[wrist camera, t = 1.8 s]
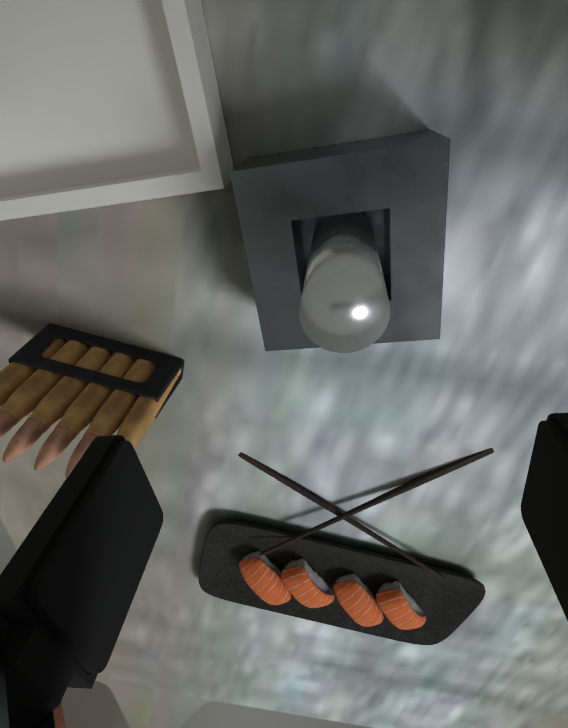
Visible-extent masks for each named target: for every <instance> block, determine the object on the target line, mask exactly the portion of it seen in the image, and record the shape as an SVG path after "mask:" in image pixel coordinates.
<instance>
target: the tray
mask: <svg viewBox="0 0 568 728" xmlns="http://www.w3.org/2000/svg"><path fill="white" fill-rule="evenodd" d="M233 169H234V167H233V162H232V157H231V152H230V147H229V142H228V136H227V131H226V126H225V121H224V116H223V111H222V106H221V100H220V95H219V90H218V85H217V80H216V75H215V70H214V65H213V59H212V54H211V49H210V44H209V39H208V34H207V29H206V23H205V18H204V13H203V8H202V3H201V0H0V221H1V220H8V219H15V218H22V217H29V216H36V215H43V214H50V213H57V212H64V211H71V210H78V209H85V208H92V207H99V206H106V205H113V204H120V203H127V202H134V201H141V200H148V199H155V198H162V197H169V196H176V195H183V194H190V193H197V192H204V191H211V190H218V189H224V188H225V187H226V186H228V185H229V184H230V183H231V177H230V171H231V170H233Z"/></svg>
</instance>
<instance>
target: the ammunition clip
mask: <svg viewBox="0 0 568 728" xmlns="http://www.w3.org/2000/svg"><path fill="white" fill-rule="evenodd" d="M9 363H10V364H9V365H8V366H7V367H5V368H4V369H3V370H2V371H1V372H0V407H1V406H2V407H1V408H0V438H1V437H2V436H4V435H5V434H6V433H7V432H8V431H9V430H10V429H11V428H12V427H13V426H14V425H16V424H17V423H18V422H19V421H20V420H21V419H22V418H23V417H25V416H27V415H28V414H30V413H31V412H33V411H34V412H33V413H32V414H31V415H30V417H29V418H28V419H27V420H26V422H25V423H24V424H23V425H22V426H21V427H20V428H19V430H18V431H17V432H16V434H15V435H14V436H13V438H12V439H11V441H10V442H9V444H8V446H7V448H6V450H5V452H4V455H3V461H4V462H7V461H10V460H12V459H14V458H16V457H17V456H19V455H20V454H22V453H23V452H24V451H26V450H27V449H28V448H29V447H30V446H31V445H33V444H34V443H35V442H36V441H37V440H38V439H39V437H40V436H41V435H42V434H43V433H45V432H46V431H47V430H48V429H49V427H50V426H51V425H53V424H54V423H55V422H57V421H58V420H59V419H61V417H62V416H63V417H62V419H61V421H60V422H59V423H58V425H57V426H56V427H55V429H54V431H53V432H52V433H51V434H50V436H49V437H48V438H47V440H46V441H45V443H44V444H43V446H42V447H41V449H40V451H39V453H38V456H37V458H36V461H35V465H34V469H35V470H39V469H41V468H43V467H45V466H46V465H48V464H49V463H50V462H52V461H53V460H54V459H55V458H56V457H58V456H59V455H60V454H61V453H62V452H63V451H64V449H65V448H66V447H67V446H68V445H69V444H70V442H71V441H72V440H73V439H74V438H75V437H76V436H77V435H78V434H79V432H80V431H82V430H83V429H84V428H85V427H86V426H87V425H88V424H89V423H90V422H91V424H90V426H89V428H88V430H87V431H86V433H85V434H84V436H83V438H82V439H81V441H80V442H79V443H78V445H77V447H76V448H75V450H74V452H73V454H72V456H71V458H70V460H69V463H68V466H67V469H66V478H67V477H68V476H69V474H70V473H71V472H72V470H73V469H74V467H75V466H76V464H77V463H78V461H79V460H80V458H81V457H82V456H83V454H84V453H85V451H86V450H87V448H88V447H89V445H90V444H91V442H92V441H93V440H94V439H95V438H96V437H98V436H110V435H112V434H113V433H114V432H115V431H116V430H117V429H118V428H119V430H118V433H117V435H122V436H123V437H124V438H125V439H126V441H130V442H131V444H132V445H133V447H134V448H135V446H136V445H137V444H138V442H139V441H140V440H141V439H142V438H143V437H144V435H145V434H146V432H147V430H148V429H149V427H150V425H151V423H152V422H153V420H154V418H157V416H158V415H159V413H160V412H161V410H162V408H163V407H164V405H165V404H166V402H167V401H168V399H169V398H170V396H171V395H172V393H173V392H174V390H175V389H176V387H177V386H178V384H179V383H180V381H181V379H182V376H183V369H184V360H183V359H181V358H177V357H173V356H170V355H166V354H162V353H159V352H155V351H151V350H148V349H144V348H140V347H136V346H133V345H129V344H125V343H122V342H118V341H114V340H111V339H107V338H103V337H100V336H96V335H92V334H88V333H85V332H81V331H77V330H74V329H70V328H66V327H63V326H59V325H55V324H51V323H49V324H48V325H47V326H45V327H44V328H43V329H42V330H41V331H40V332H39V333H38V334H36V335H35V336H34V337H33V338H32V339H31V340H30V341H28V342H27V343H26V344H25V345H24V346H23V347H22V348H21V349H19V350H18V351H17V352H16V353H15V354H14V355H13V356H12V357H10V358H9ZM119 426H120V427H119Z"/></svg>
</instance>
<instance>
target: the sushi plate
mask: <svg viewBox="0 0 568 728" xmlns="http://www.w3.org/2000/svg"><path fill="white" fill-rule="evenodd" d="M493 452H494V450H493V449H492V448H490V449H487V450H484V451H482V452H479V453H476V454H474V455H471V456H468V457H466V458H463V459H461V460H458V461H456V462H453V463H450V464H448V465H445V466H443V467H440V468H437V469H435V470H432V471H430V472H428V473H425V474H423V475H421V476H419V477H417V478H415V479H413V480H411V481H409V482H407V483H405V484H403V485H401V486H399V487H397V488H395V489H393V490H391V491H388V492H386V493H384V494H382V495H380V496H378V497H376V498H374V499H372V500H370V501H368V502H366V503H364V504H362V505H360V506H358V507H356V508H354V509H351V510H349V511H347V512H345V513H343V512H341V511H340V510H338V509H337V508H335V507H334V506H332V505H331V504H329V503H328V502H326V501H324V500H323V499H321V498H320V497H318V496H317V495H315V494H314V493H312V492H311V491H309V490H308V489H306V488H305V487H303V486H301V485H300V484H298V483H296V482H295V481H293V480H291V479H289V478H287V477H286V476H284V475H282V474H280V473H278V472H277V471H275V470H273V469H271V468H269V467H268V466H266V465H264V464H262V463H260V462H259V461H257V460H255V459H253V458H251V457H249V456H248V455H246V454H244V453H240V454H238V456H239V457H241V458H242V459H244V460H246V461H247V462H249V463H251V464H252V465H254V466H255V467H257V468H259V469H260V470H262V471H264V472H265V473H267V474H269V475H270V476H272V477H274V478H275V479H277V480H279V481H280V482H282V483H283V484H285V485H287V486H288V487H290V488H292V489H293V490H295V491H297V492H298V493H300V494H302V495H303V496H305V497H307V498H308V499H310V500H312V501H313V502H315V503H317V504H318V505H320V506H322V507H323V508H325V509H327V510H329V511H330V512H332V513H334V514H335V515H337V517H335V518H333V519H330V520H328V521H326V522H324V523H322V524H320V525H318V526H316V527H313V528H311V529H309V530H307V531H305V532H303V533H301V534H295V533H291V532H286V531H282V530H278V529H274V528H269V527H265V526H261V525H256V524H251V523H246V522H240V521H231V520H225V521H219V522H217V523H215V524H214V525H213V526H212V527H211V528H210V530H209V532H208V534H207V537H206V540H205V544H204V548H203V553H202V558H201V563H200V569H199V584H200V587H201V588H202V590H203V591H205V592H206V593H208V594H210V595H212V596H215V597H218V598H221V599H224V600H228V601H232V602H235V603H239V604H244V605H248V606H252V607H256V608H260V609H265V610H269V611H273V612H277V613H282V614H286V615H290V616H294V617H299V618H303V619H307V620H311V621H316V622H320V623H324V624H328V625H333V626H337V627H341V628H346V629H350V630H354V631H358V632H363V633H367V634H371V635H375V636H380V637H384V638H388V639H393V640H397V641H402V642H407V643H412V644H419V645H433V644H437V643H439V642H441V641H443V640H444V639H446V638H447V637H448V636H449V635H451V634H452V633H453V632H454V631H455V630H456V629H457V628H458V627H459V626H460V625H461V624H462V623H463V622H464V621H465V620H466V618H467V617H468V616H469V615H470V614H471V613H472V612H473V611H474V610H475V609H476V607H477V606H478V605H479V604H480V602H481V601H482V600H483V598H484V595H485V587H484V585H483V584H482V583H481V582H479V581H478V580H476V579H474V578H471V577H469V576H466V575H463V574H459V573H456V572H452V571H448V570H444V569H440V568H436V567H432V566H428V565H425V564H423V563H422V562H420V561H418V560H417V559H415V558H414V557H412V556H410V555H409V554H407V553H406V552H404V551H403V550H401V549H399V548H398V547H396V546H395V545H393V544H391V543H390V542H388V541H387V540H385V539H384V538H382V537H380V536H379V535H377V534H376V533H374V532H372V531H371V530H369V529H368V528H366V527H365V526H363V525H362V524H360V523H358V522H357V521H355V520H354V519H352V518H351V517H349V516H351V515H353V514H356V513H358V512H360V511H362V510H365V509H367V508H369V507H372V506H374V505H376V504H379V503H381V502H383V501H385V500H388V499H390V498H392V497H395V496H397V495H399V494H402V493H404V492H406V491H408V490H411V489H413V488H415V487H418V486H420V485H422V484H424V483H427V482H429V481H431V480H433V479H436V478H438V477H440V476H442V475H445V474H447V473H449V472H451V471H454V470H456V469H458V468H460V467H463V466H465V465H467V464H469V463H472V462H474V461H476V460H478V459H481V458H483V457H485V456H487V455H489V454H492V453H493ZM342 519H344V520H345V521H347V522H349V523H350V524H352V525H354V526H355V527H357V528H359V529H360V530H362V531H364V532H365V533H367V534H368V535H370V536H372V537H373V538H375V539H377V540H378V541H380V542H381V543H383V544H385V545H386V546H388V547H390V548H391V549H393V550H394V551H396V552H398V553H399V554H401V555H403V556H404V557H406V558H407V559H409V560H411V561H407V560H403V559H399V558H395V557H391V556H387V555H382V554H378V553H374V552H370V551H366V550H361V549H357V548H353V547H349V546H345V545H341V544H336V543H332V542H328V541H324V540H320V539H316V538H311V537H307V535H309V534H311V533H314V532H316V531H318V530H320V529H322V528H325V527H327V526H329V525H331V524H333V523H336V522H338V521H340V520H342Z"/></svg>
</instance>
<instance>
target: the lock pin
mask: <svg viewBox="0 0 568 728" xmlns="http://www.w3.org/2000/svg"><path fill="white" fill-rule="evenodd" d="M299 318H300V323H301V326H302V328H303V330H304V332H305V334H306V335H307V336H308V337H309V339H310V340H311V341H313V342H314V343H315V344H316V345H318V346H320V347H321V348H324V349H326V350H329V351H333V352H339V353H349V352H355V351H359V350H361V349H364V348H366V347H368V346H370V345H371V344H373V343H374V342H375V341H376V340H378V339H379V337H380V336H381V335H382V334H383V332H384V331H385V329H386V327H387V325H388V322H389V318H390V304H389V300H388V295H387V291H386V286H385V282H384V277H383V273H382V268H381V264H380V259H379V255H378V250H377V246H376V242H375V237H374V233H373V228H372V226H371V223H370V222H369V220H368V219H367V218H366V217H365V216H364V215H363V214H362V213H361V212H355V213H347V214H339V215H331V216H323V217H322V218H321V219H320V220H319V222H318V223H317V225H316V227H315V229H314V233H313V238H312V243H311V249H310V254H309V259H308V265H307V270H306V276H305V281H304V286H303V292H302V297H301V302H300V308H299Z"/></svg>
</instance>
